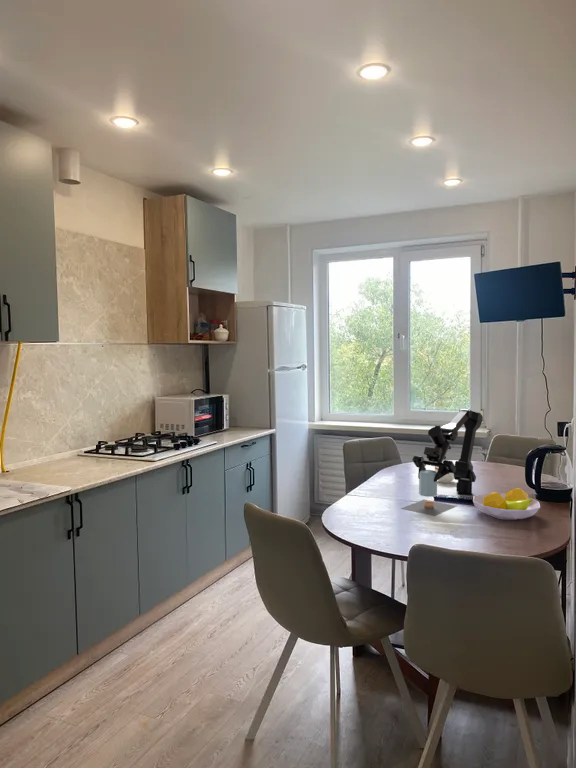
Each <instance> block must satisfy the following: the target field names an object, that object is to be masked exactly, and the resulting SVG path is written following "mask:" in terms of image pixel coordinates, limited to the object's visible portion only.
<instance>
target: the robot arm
mask: <svg viewBox="0 0 576 768" xmlns="http://www.w3.org/2000/svg"><path fill="white" fill-rule="evenodd" d="M483 419H484V417H483V414H482V413H481V412H478V411H477V412H476V411H473V410H472V409H468V408H461V409H459V410H458V412H457V414H456V415H455V416H454V417H453V419H452V420H451V421H450V422H449V423H446V424H444V425H442V426H441V425H438V424H436V425H435V426H434V427H431V428H430V429H429V430H428V432H427V435H428V437H429V438H430V440H431V441H432V442H431V443H432V444H434V446H433V447H429V446H425V447H424V451H423V455H425V456H426V458H427V459H424V457H423V456H421V455H414V456H413V457H412V459H411V460H412V462H413V464H414V465H415V467H416V468H418V476H417V478H418V479H419V473H420V471H421V470H427V468H426V466H431V467H435V466H436V467H439V469H438V471H437V473H436V476H435V478H434V482H436V481H437V482H438V481H439V479H440V478H441V477H443V476H445V475H446V474H449V473H454V480H456V481H457V482H456V486H455V489H456V493H457V495H467V496H473V483H475V482H476V480H477V475H476V473H475V472H474V465H473V463H472V457H473V456H472V455H473V450H474V445H475V437H476V433H477V431H478V430H479V428H480V427H481V426H482V422H483ZM463 425H464V430H465V432H464V435H463V441H462V446H461V451H460V452H461V453H460V458H459V459H458V460H456V461H455V462H453V461H452V460H447V457H446V455H447V452H448V450H451V449H452V446H451V443H450V441H451V442H455V440H456V439H457V438H458V436H459V433H458V432H459V430H460V429H461V427H462V426H463Z"/></svg>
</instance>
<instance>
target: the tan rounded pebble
mask: <svg viewBox="0 0 576 768" xmlns="http://www.w3.org/2000/svg"><path fill="white" fill-rule="evenodd" d="M425 500H426V501H424V507H425V508H428V509H432V508H434V502H435V501H434V500H429V499H425Z"/></svg>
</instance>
